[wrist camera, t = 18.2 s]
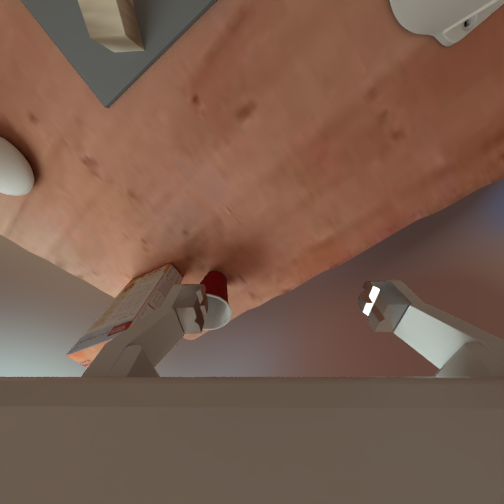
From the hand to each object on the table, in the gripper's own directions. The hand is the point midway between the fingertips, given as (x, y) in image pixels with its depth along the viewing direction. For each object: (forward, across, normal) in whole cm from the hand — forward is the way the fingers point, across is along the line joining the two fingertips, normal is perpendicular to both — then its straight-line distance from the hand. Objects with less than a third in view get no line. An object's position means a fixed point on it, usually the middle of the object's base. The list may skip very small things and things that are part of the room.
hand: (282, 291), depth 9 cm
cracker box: (+31, +29, +24) cm, 49 cm away
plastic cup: (+31, +13, +25) cm, 42 cm away
